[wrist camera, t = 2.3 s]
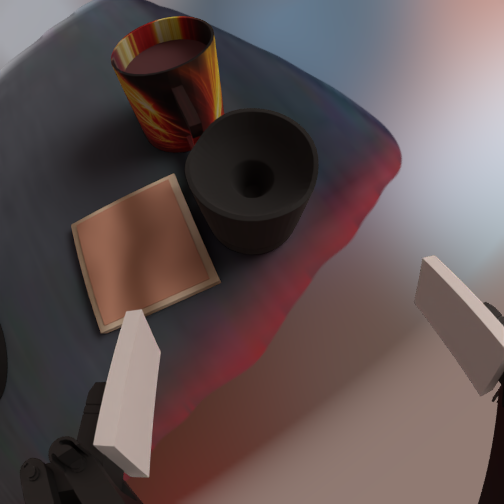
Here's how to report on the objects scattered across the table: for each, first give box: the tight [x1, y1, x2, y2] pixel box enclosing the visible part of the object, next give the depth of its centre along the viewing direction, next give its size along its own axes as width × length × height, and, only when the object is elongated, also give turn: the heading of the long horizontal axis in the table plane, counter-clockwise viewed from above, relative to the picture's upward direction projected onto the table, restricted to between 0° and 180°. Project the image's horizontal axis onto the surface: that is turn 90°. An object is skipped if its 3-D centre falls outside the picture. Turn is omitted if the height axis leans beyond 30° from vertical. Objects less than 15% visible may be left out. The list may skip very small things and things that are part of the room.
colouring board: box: [71, 174, 221, 334], centre depth 29 cm, size 12×12×1 cm
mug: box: [111, 16, 224, 153], centre depth 28 cm, size 10×14×12 cm
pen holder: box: [185, 108, 318, 255], centre depth 26 cm, size 9×9×10 cm
